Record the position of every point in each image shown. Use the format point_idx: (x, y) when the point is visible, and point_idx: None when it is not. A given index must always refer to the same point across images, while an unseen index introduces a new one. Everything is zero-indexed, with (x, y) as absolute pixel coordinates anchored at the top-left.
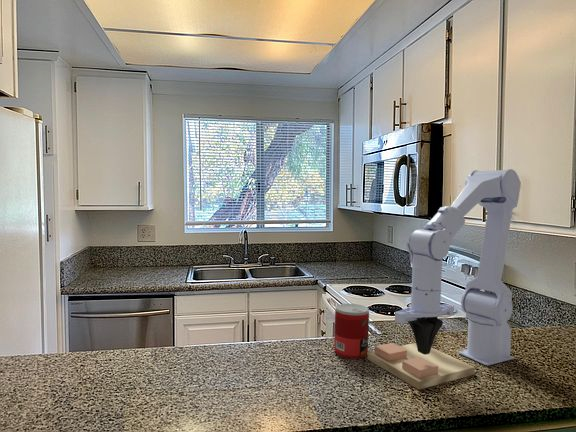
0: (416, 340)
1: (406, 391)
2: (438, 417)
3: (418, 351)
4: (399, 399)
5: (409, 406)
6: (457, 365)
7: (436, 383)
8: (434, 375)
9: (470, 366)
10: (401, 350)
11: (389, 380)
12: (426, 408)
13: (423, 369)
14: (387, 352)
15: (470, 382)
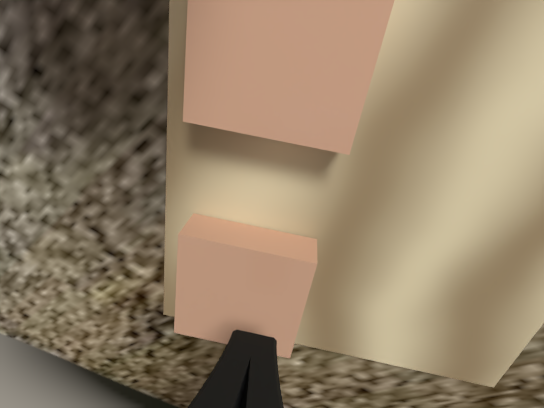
0: (201, 395)
1: (128, 272)
2: (111, 378)
3: (231, 335)
4: (70, 285)
5: (74, 319)
6: (455, 343)
7: None
8: None
9: (487, 376)
10: (313, 131)
11: (127, 187)
12: (113, 348)
13: (196, 336)
14: (190, 92)
15: (389, 367)
